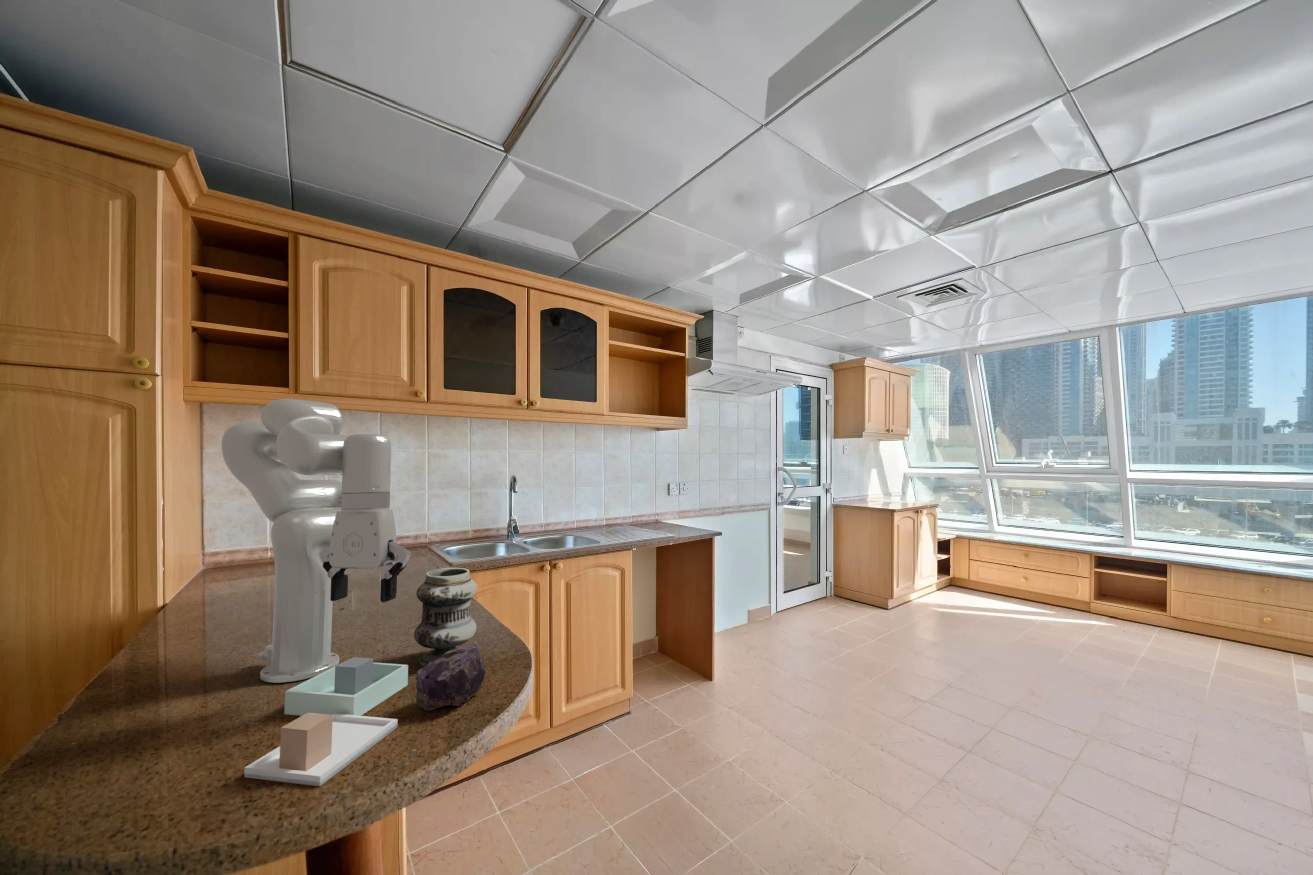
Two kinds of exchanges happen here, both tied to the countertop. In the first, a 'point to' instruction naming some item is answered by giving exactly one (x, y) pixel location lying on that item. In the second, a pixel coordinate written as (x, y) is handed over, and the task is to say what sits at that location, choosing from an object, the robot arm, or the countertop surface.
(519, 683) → the countertop surface
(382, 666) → the seafoam storage bin
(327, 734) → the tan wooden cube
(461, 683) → the rock
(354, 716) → the tray
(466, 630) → the apothecary jar
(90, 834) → the countertop surface
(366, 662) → the matte grey cube
